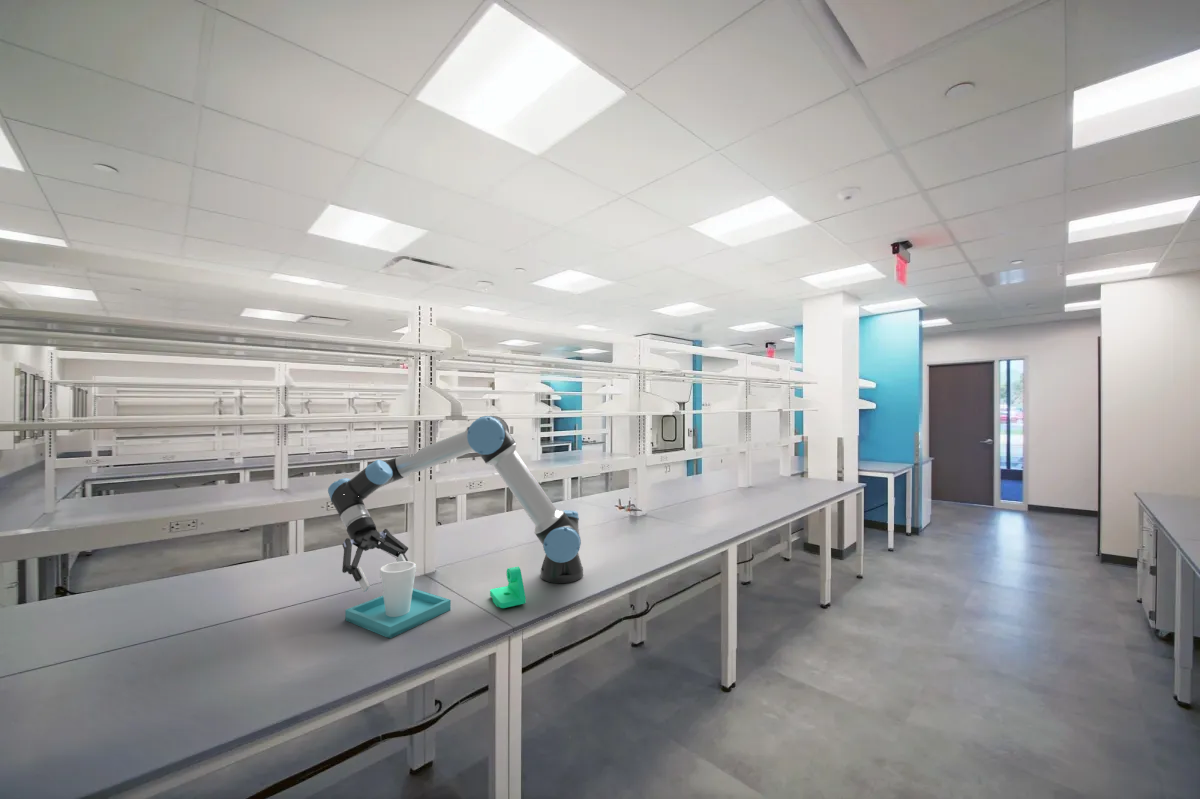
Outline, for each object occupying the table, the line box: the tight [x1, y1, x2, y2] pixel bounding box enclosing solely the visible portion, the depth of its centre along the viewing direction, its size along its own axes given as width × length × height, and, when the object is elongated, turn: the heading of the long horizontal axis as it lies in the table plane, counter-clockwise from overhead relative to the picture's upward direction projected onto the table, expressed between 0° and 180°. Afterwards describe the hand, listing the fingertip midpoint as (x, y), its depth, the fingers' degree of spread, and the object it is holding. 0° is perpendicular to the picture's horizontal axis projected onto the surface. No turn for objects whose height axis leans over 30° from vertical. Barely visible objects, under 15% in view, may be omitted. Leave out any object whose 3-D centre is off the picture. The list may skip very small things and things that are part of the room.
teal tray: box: [344, 587, 452, 639], centre depth 135 cm, size 20×20×3 cm
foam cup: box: [379, 560, 417, 617], centre depth 135 cm, size 10×9×13 cm
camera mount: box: [489, 566, 527, 609], centre depth 145 cm, size 12×8×10 cm, turn 30°
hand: (388, 581), depth 137 cm, fingers open, 13 cm apart
